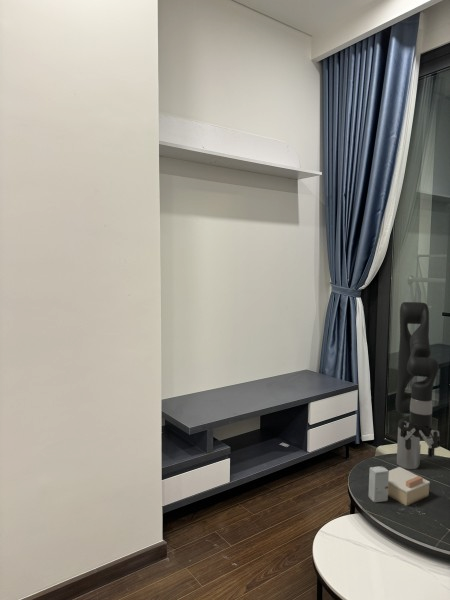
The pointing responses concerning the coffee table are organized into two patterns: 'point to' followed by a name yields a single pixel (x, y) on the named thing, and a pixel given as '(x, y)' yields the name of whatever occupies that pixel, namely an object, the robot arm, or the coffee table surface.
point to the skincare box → (378, 484)
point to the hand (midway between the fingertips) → (419, 453)
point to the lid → (405, 480)
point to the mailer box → (408, 494)
